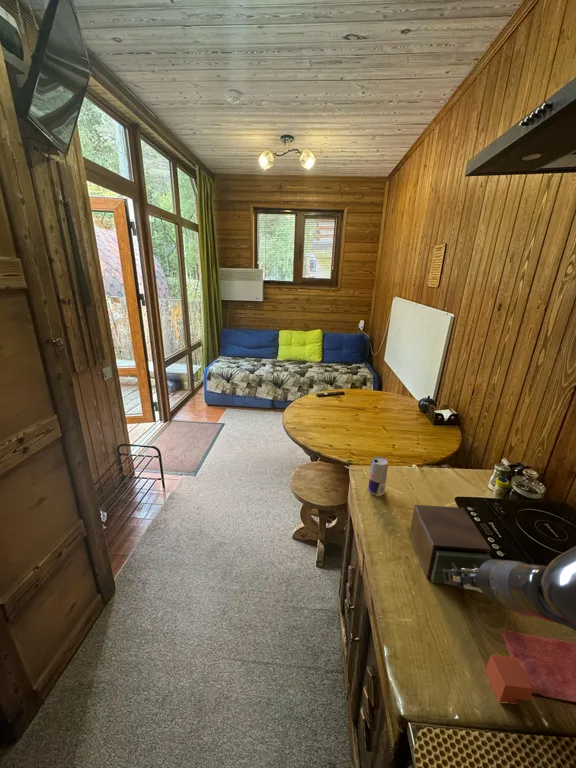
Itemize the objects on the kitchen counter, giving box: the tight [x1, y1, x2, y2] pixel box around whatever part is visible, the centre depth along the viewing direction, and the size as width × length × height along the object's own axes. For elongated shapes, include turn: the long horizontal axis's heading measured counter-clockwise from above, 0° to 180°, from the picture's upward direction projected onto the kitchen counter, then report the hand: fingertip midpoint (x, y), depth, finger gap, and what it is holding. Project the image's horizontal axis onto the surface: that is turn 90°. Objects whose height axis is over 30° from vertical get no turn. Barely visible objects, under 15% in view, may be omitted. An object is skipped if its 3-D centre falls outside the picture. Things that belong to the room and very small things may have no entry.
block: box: [484, 654, 534, 705], centre depth 52 cm, size 4×4×4 cm
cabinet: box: [409, 504, 492, 580], centre depth 77 cm, size 14×13×10 cm
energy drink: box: [367, 456, 389, 497], centre depth 101 cm, size 5×5×12 cm
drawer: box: [430, 548, 493, 585], centre depth 73 cm, size 17×11×8 cm
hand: (468, 576), depth 66 cm, fingers open, 8 cm apart
